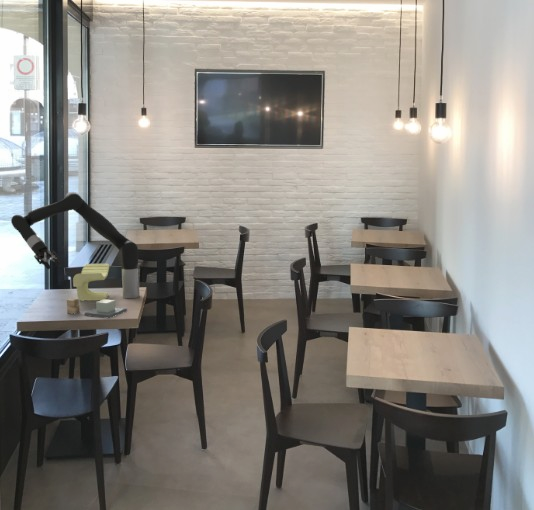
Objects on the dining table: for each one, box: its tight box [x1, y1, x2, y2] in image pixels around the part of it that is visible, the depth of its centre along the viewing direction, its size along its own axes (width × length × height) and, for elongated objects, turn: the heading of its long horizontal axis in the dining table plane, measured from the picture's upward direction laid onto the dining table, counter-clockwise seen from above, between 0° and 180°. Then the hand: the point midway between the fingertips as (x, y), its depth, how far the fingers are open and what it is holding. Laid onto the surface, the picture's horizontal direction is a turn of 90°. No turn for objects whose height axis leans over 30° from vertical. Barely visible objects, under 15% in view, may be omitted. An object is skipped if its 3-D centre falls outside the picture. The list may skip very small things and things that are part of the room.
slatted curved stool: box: [72, 263, 110, 302], centre depth 419 cm, size 30×16×18 cm, turn 4°
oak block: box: [66, 297, 80, 314], centre depth 386 cm, size 4×4×8 cm
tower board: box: [83, 299, 128, 319], centre depth 385 cm, size 16×16×7 cm
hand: (54, 266), depth 389 cm, fingers open, 8 cm apart
